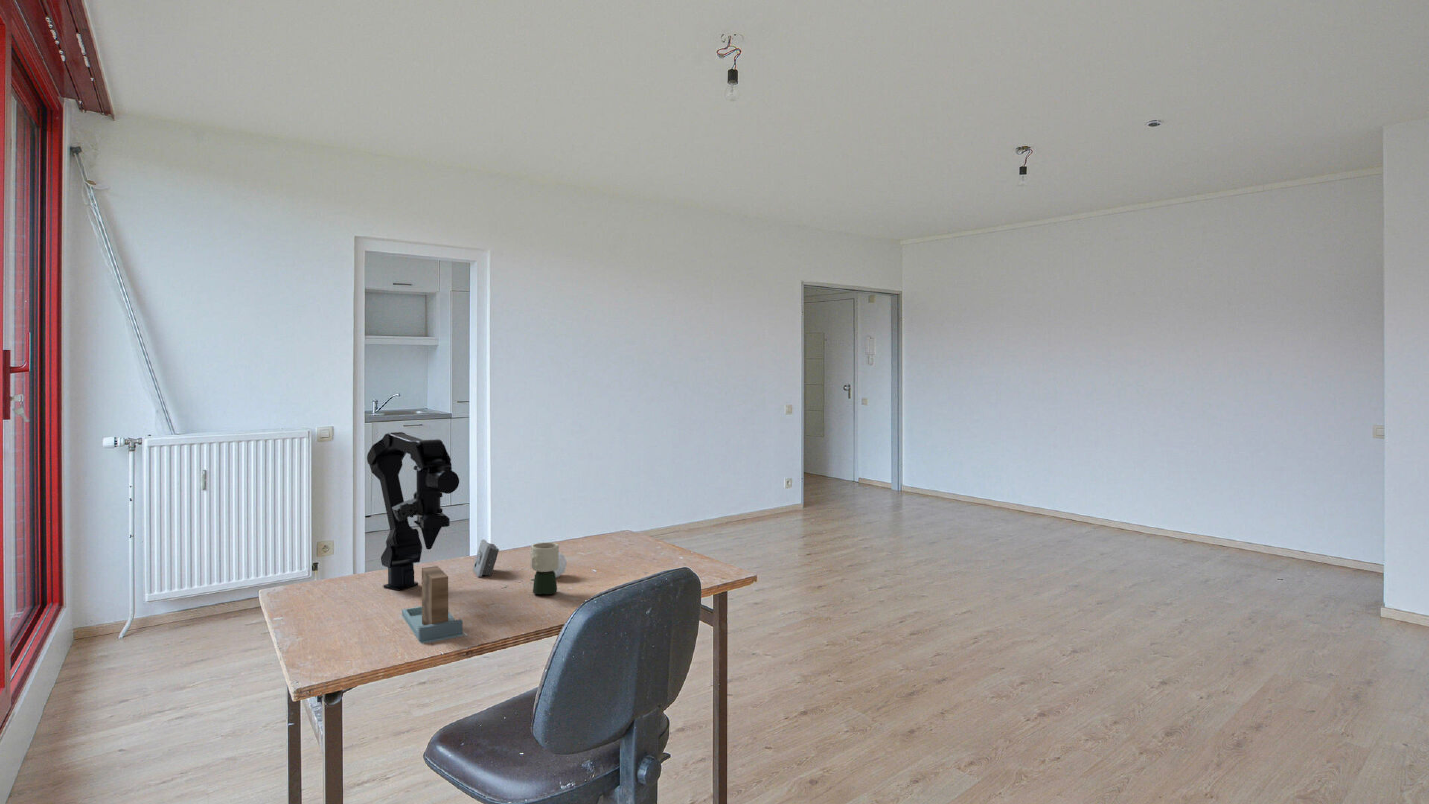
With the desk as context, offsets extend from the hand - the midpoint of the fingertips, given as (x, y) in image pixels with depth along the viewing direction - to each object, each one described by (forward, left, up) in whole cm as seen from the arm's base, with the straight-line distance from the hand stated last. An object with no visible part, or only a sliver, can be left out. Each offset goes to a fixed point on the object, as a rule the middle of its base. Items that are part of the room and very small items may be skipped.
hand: (428, 549), depth 187 cm
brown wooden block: (+19, -16, -12) cm, 28 cm away
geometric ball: (+15, +31, -13) cm, 37 cm away
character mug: (+23, +18, -13) cm, 32 cm away
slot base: (+17, -14, -13) cm, 26 cm away
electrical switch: (-5, +25, -13) cm, 29 cm away
